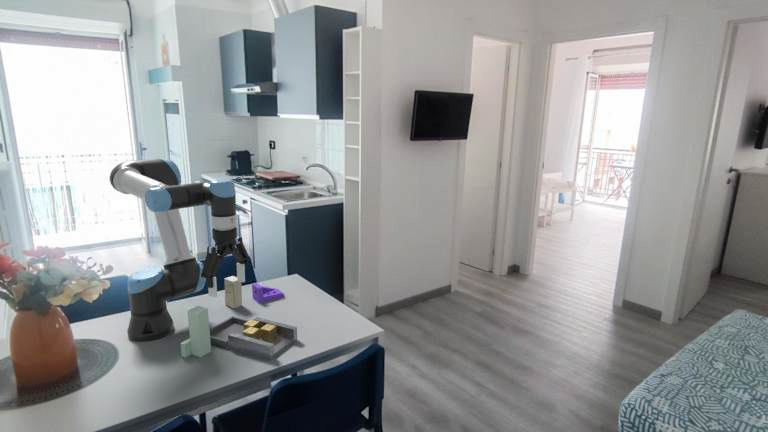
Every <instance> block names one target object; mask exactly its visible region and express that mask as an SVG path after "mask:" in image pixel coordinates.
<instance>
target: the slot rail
mask: <svg viewBox="0 0 768 432" xmlns="http://www.w3.org/2000/svg"><path fill="white" fill-rule="evenodd" d="M253 320H255V321H259V322H260V328H262V327H263V326H265V325H266V324H271V325H275V326H277V336H276V337H275V338H274V339H272V340H271V341H267V340H264V339H261V333H260V340H258V339H254V338H250V337H247V336H243V335H240V334H236V333H230V334H229V335H228V344H229V347H228V349H231V350H235V351H238V352H242V353H245V354H249V355H252V356H255V357H258V358H263V359H266V360H269V361H272V360H273V359H274V358H276V357H277V356H278V355H279V354H280V353H283V351H284V350H286V349H288V348H289V347H290V346H292V344H294V343H296V342H297V340H298V326H293V325H290V324H285V323H281V322H279V321H274V320H270V319H266V318H261V317H258V316H256V317H255V318H254V319H253Z"/></svg>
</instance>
